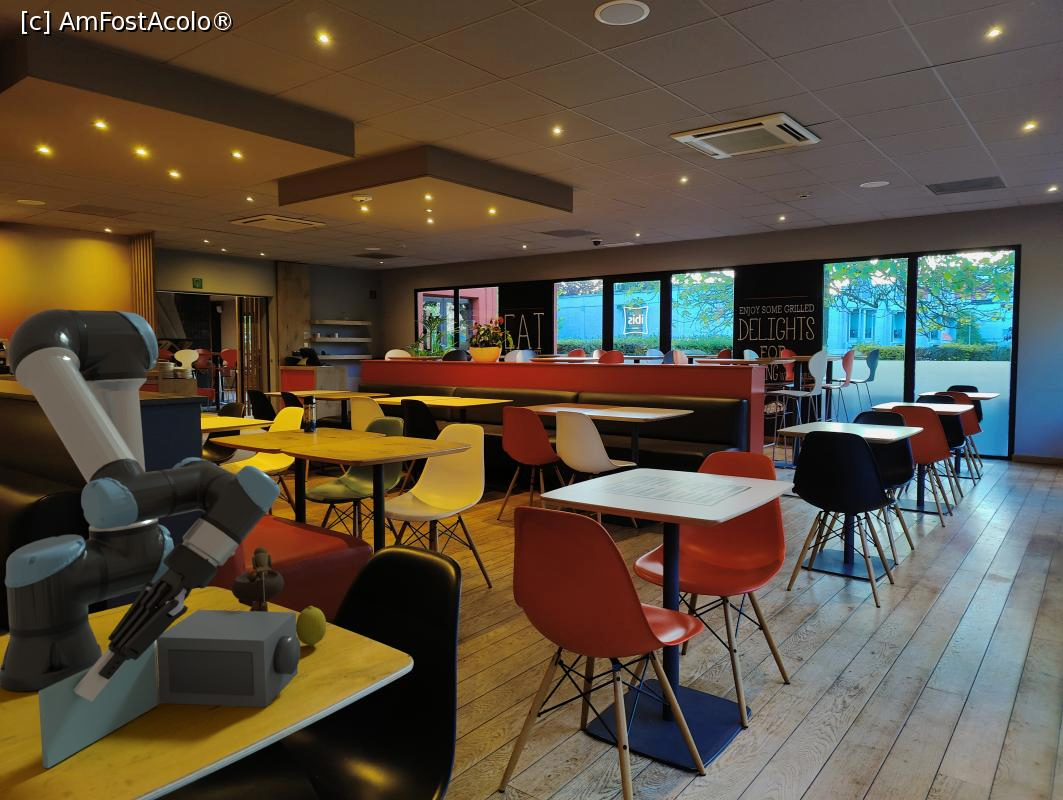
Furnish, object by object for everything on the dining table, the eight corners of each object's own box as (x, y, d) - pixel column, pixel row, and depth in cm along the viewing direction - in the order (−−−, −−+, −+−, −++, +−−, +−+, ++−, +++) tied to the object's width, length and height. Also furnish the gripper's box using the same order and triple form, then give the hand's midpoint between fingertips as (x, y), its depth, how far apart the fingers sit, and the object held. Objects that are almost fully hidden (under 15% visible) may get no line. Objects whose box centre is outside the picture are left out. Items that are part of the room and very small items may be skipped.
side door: (150, 701, 115) (147, 637, 114) (160, 703, 114) (157, 638, 113) (36, 765, 97) (32, 690, 97) (48, 768, 97) (43, 692, 96)
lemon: (318, 638, 140) (316, 598, 140) (331, 646, 136) (330, 606, 136) (291, 646, 136) (290, 606, 136) (305, 655, 132) (303, 613, 132)
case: (158, 703, 115) (155, 637, 114) (200, 669, 127) (198, 609, 126) (277, 708, 113) (274, 641, 112) (308, 673, 125) (306, 612, 124)
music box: (306, 649, 135) (294, 549, 132) (249, 673, 127) (235, 566, 125) (271, 627, 146) (260, 533, 143) (217, 647, 138) (204, 549, 136)
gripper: (234, 577, 108) (117, 723, 97) (203, 559, 117) (93, 691, 107) (196, 550, 104) (70, 700, 93) (167, 534, 113) (49, 669, 103)
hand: (82, 695), depth 100 cm, fingers closed
